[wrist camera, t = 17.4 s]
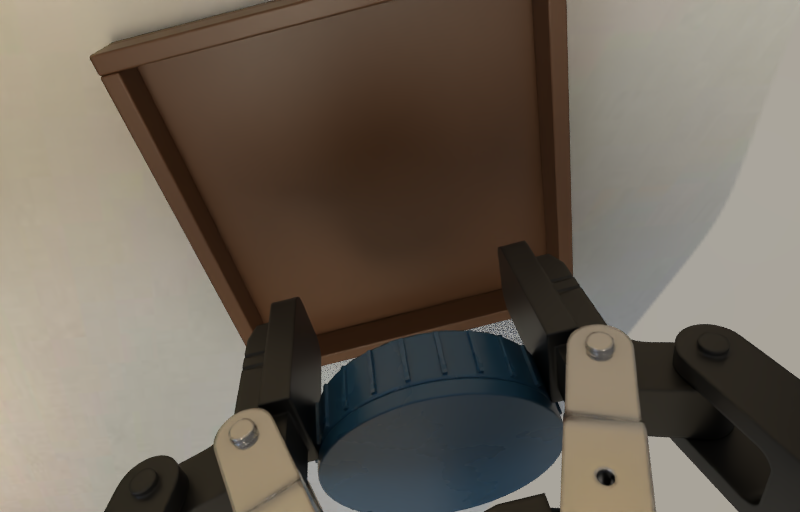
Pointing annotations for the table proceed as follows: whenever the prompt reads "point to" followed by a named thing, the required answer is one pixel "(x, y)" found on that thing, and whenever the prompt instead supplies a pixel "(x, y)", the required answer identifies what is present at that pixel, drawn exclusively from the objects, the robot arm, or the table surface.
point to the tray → (357, 155)
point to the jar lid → (435, 424)
